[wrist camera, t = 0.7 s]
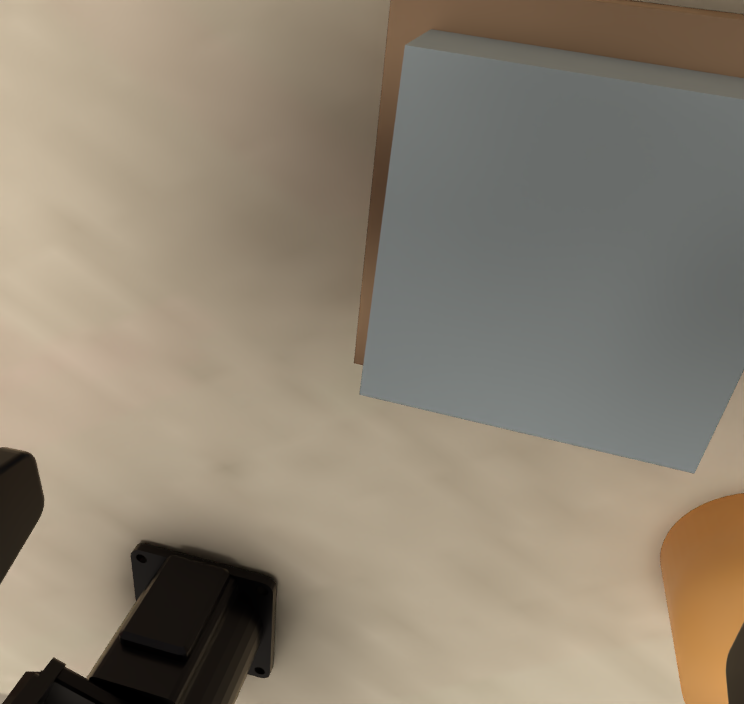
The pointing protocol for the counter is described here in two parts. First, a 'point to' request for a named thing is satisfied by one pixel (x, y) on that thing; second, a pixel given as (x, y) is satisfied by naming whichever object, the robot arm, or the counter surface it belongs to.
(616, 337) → the block
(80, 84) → the counter surface
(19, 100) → the counter surface
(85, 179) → the counter surface
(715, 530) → the orange cylinder
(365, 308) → the tower base
